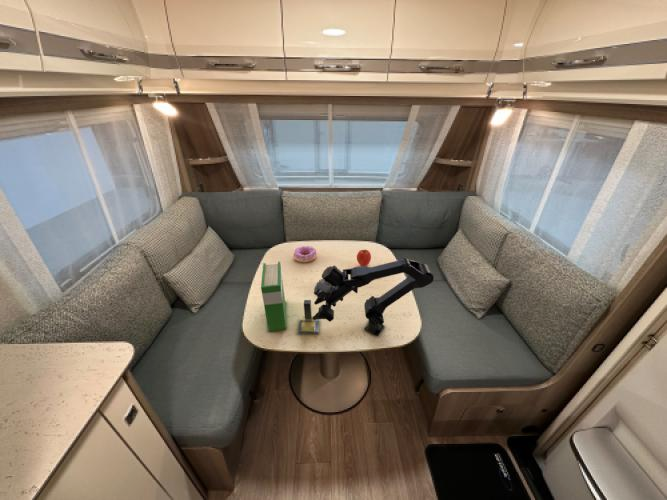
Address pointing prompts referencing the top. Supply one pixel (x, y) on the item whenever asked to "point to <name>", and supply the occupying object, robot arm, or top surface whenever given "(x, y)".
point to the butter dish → (308, 326)
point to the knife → (307, 311)
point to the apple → (363, 257)
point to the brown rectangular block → (322, 281)
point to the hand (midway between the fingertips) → (313, 311)
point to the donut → (305, 250)
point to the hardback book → (273, 296)
